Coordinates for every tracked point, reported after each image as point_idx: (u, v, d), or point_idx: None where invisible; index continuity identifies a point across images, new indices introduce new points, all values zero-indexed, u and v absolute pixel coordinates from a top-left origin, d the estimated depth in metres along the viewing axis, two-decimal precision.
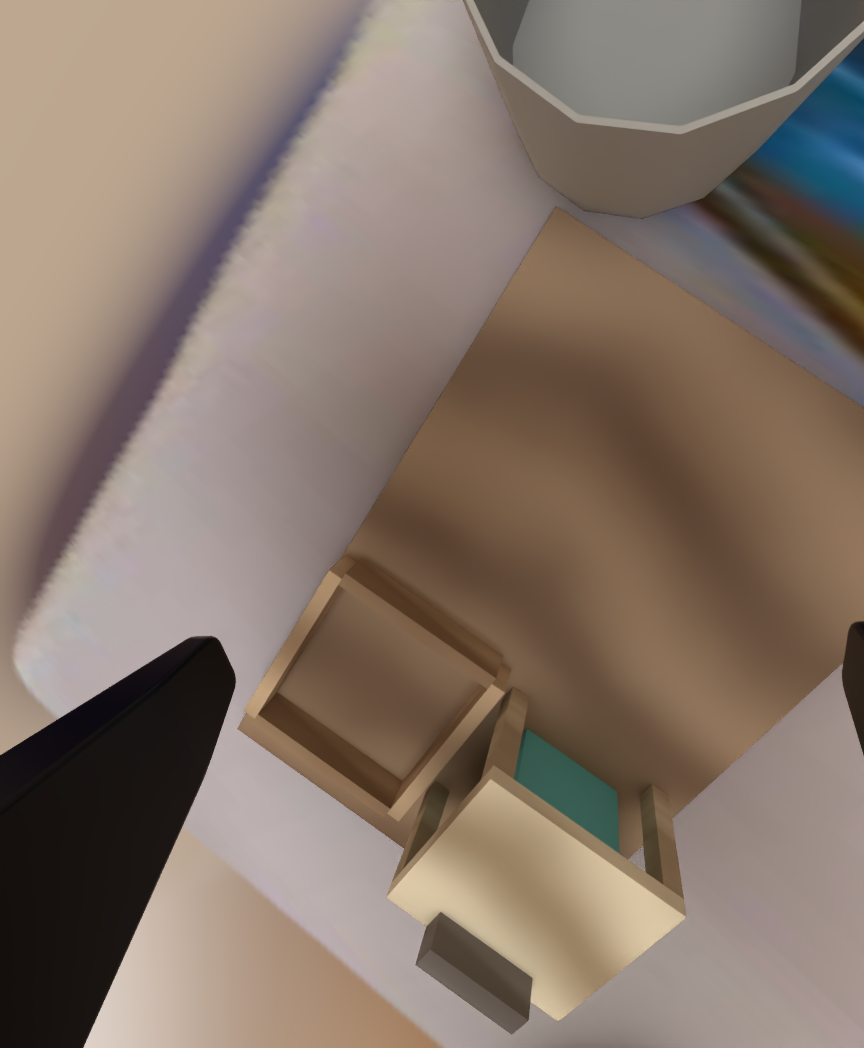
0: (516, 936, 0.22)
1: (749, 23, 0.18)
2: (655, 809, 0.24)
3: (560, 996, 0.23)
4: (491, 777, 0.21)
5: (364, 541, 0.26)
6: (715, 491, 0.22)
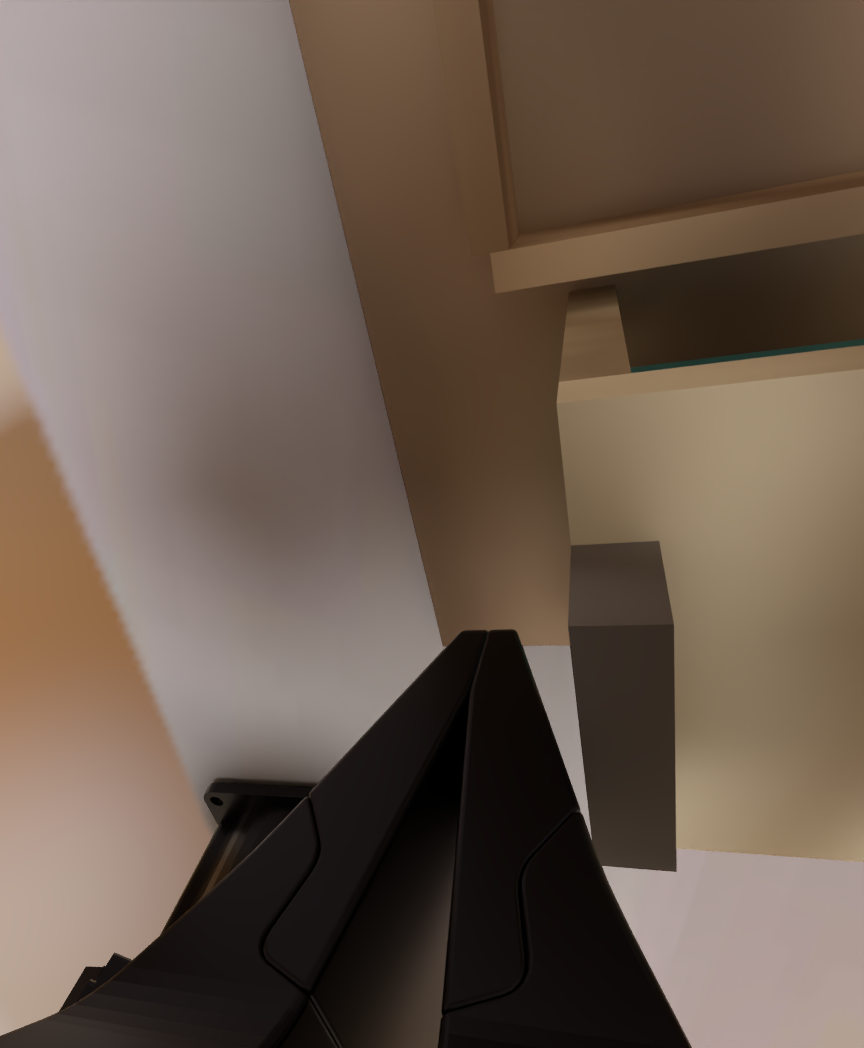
0: (756, 699, 0.08)
1: None
2: None
3: None
4: None
5: None
6: None
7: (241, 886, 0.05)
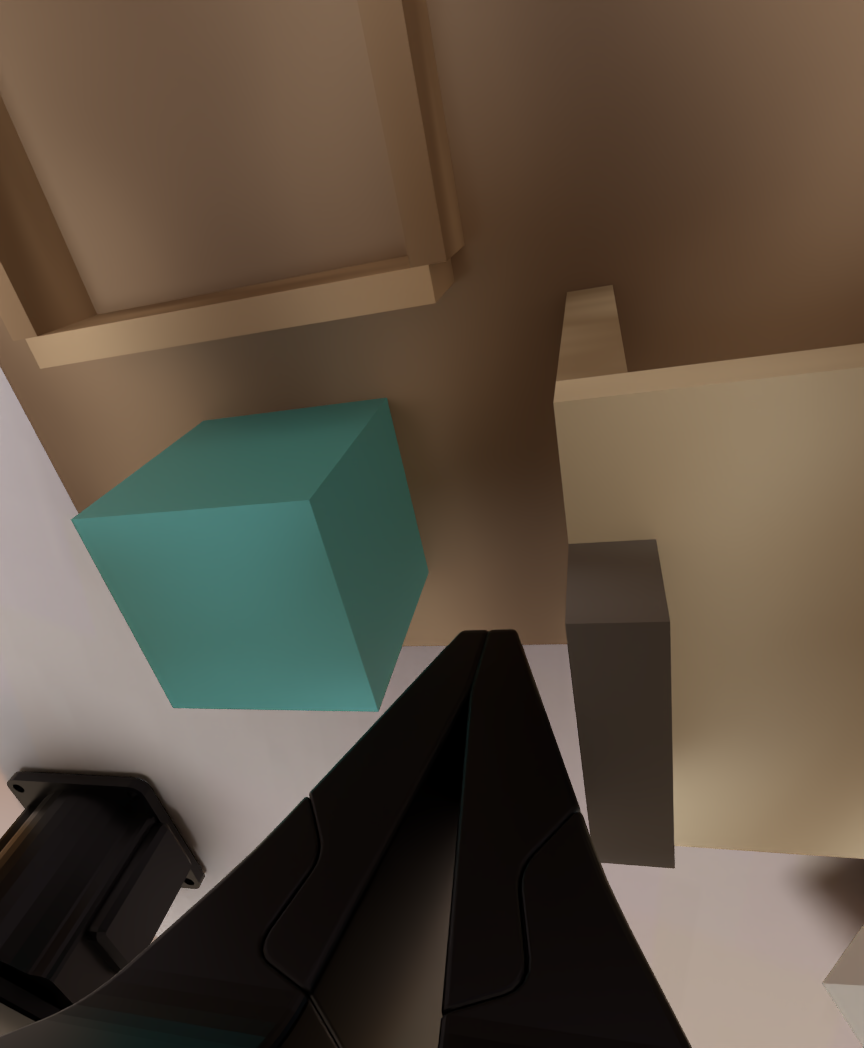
0: (753, 696, 0.08)
1: None
2: None
3: None
4: None
5: None
6: None
7: (240, 886, 0.05)
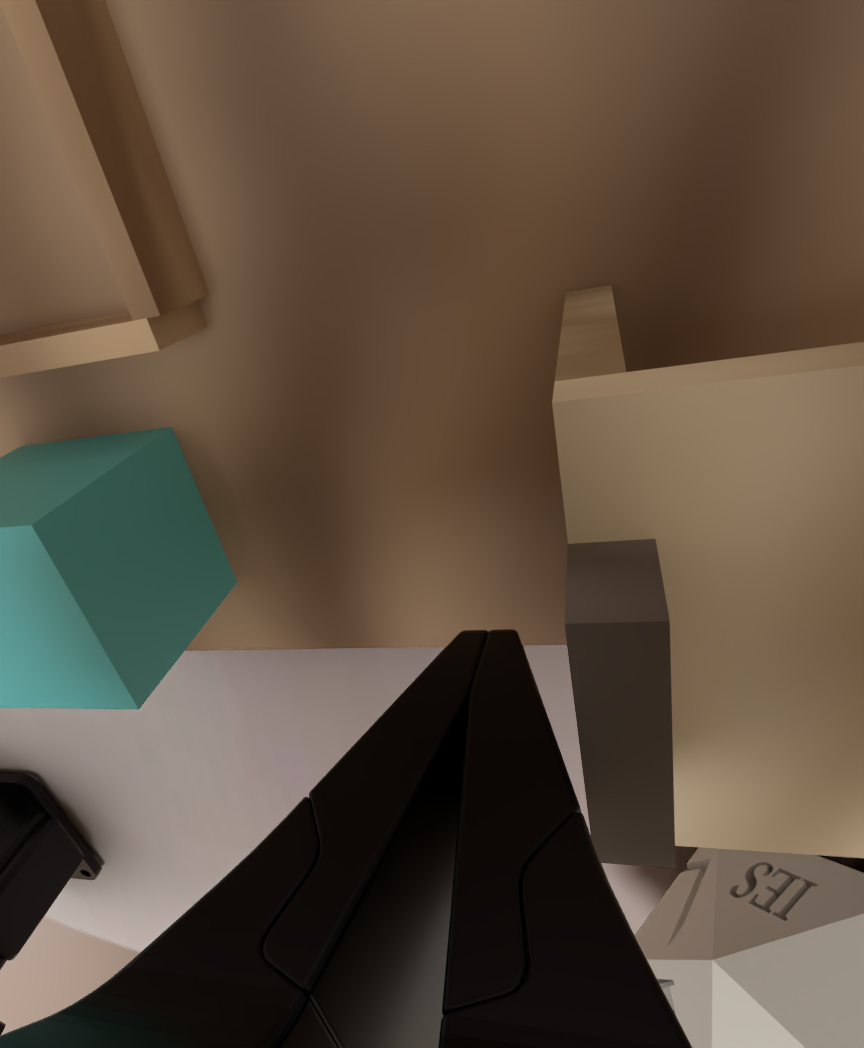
0: (753, 696, 0.08)
1: None
2: None
3: None
4: None
5: None
6: (735, 326, 0.11)
7: (240, 886, 0.05)
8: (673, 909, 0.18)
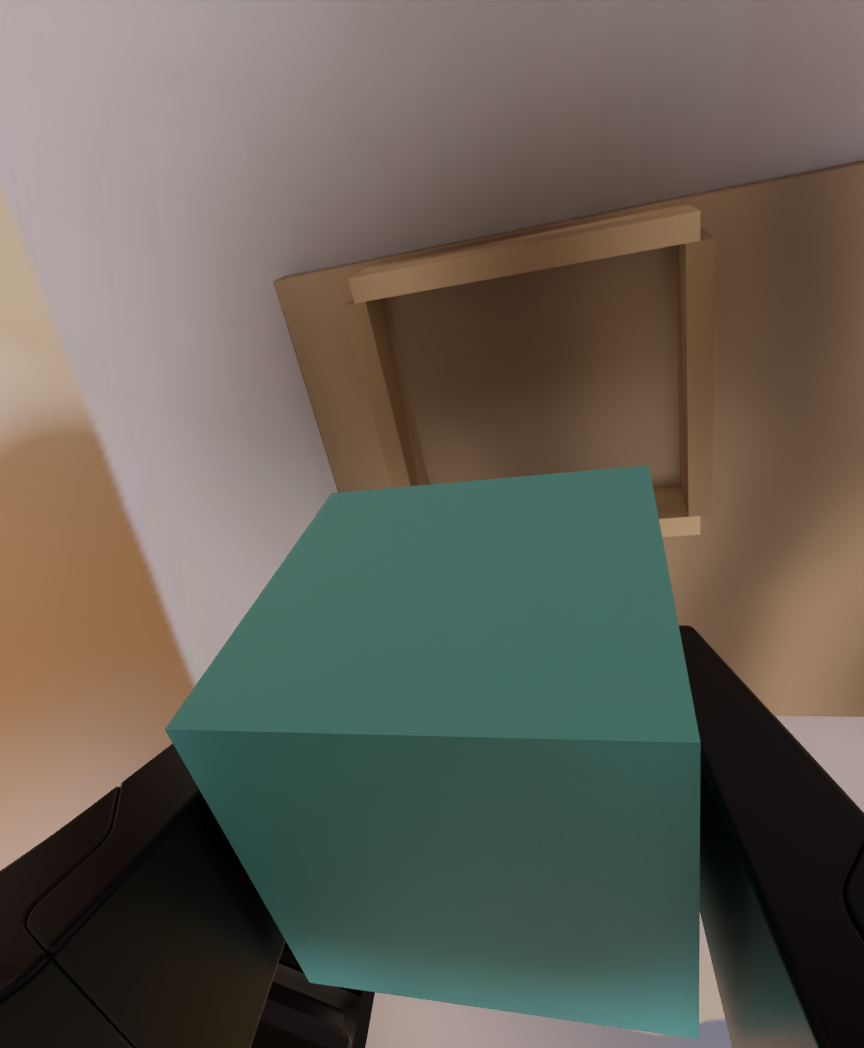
0: None
1: None
2: None
3: None
4: None
5: (733, 210, 0.15)
6: None
7: (30, 865, 0.06)
8: None
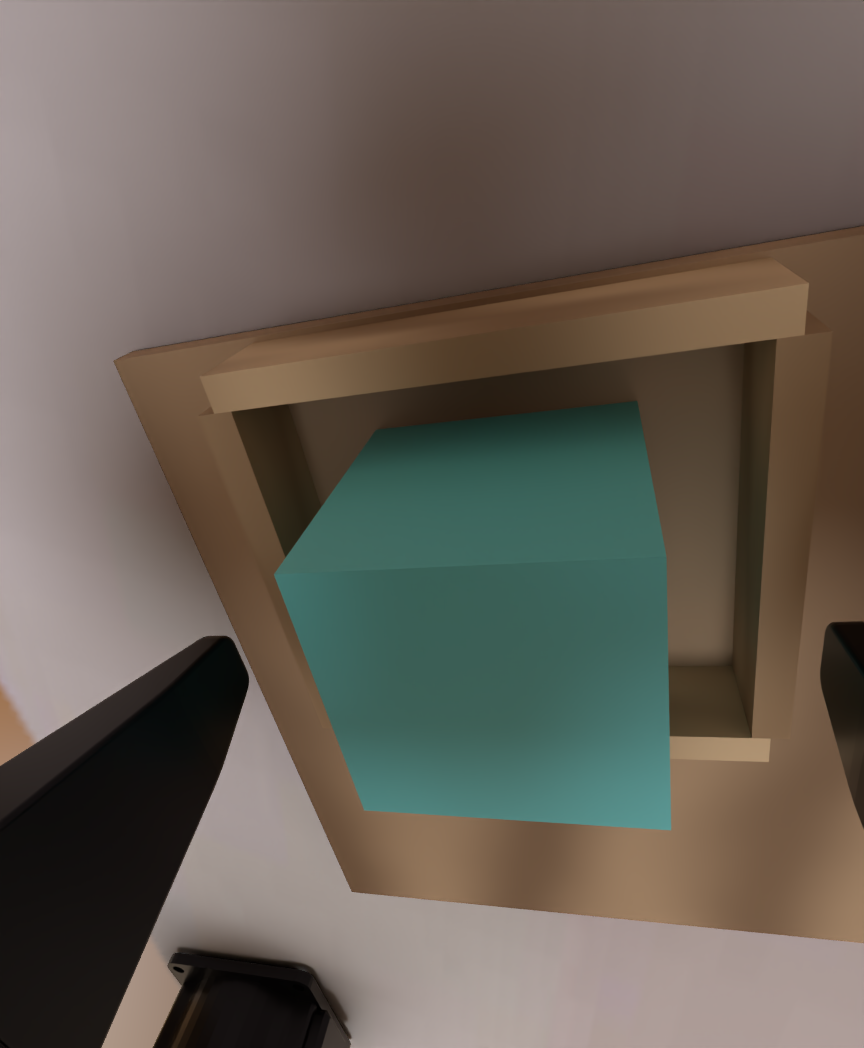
0: None
1: None
2: None
3: None
4: None
5: (848, 270, 0.09)
6: None
7: None
8: None
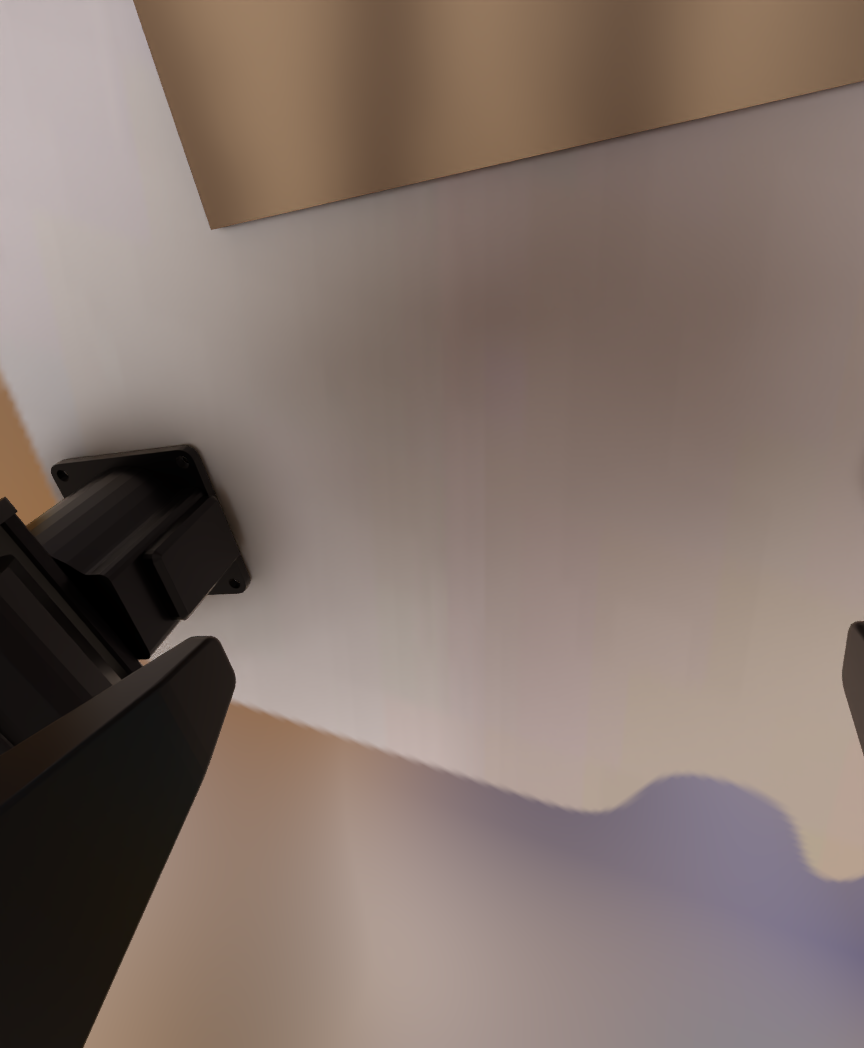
0: None
1: None
2: None
3: None
4: None
5: None
6: None
7: None
8: None
